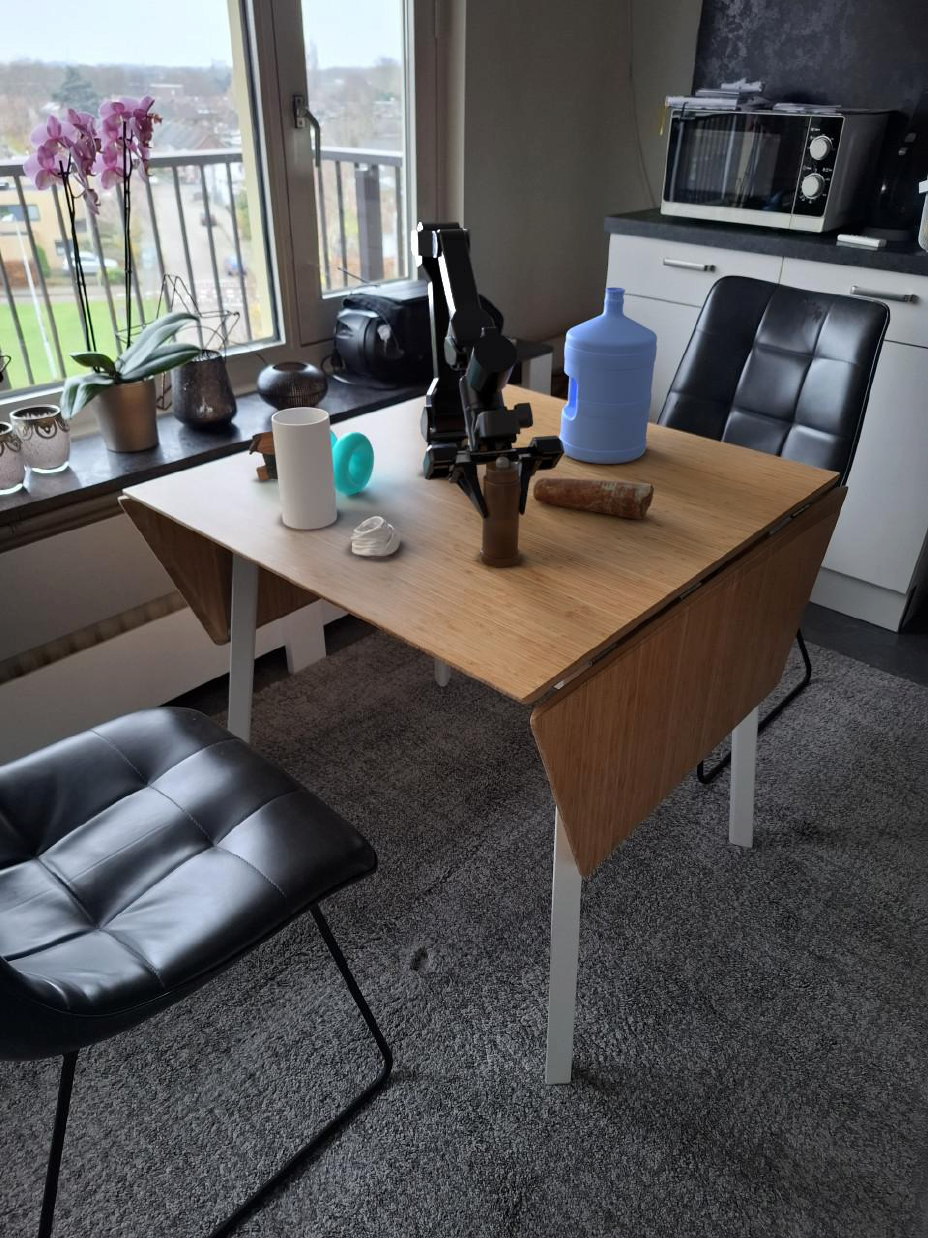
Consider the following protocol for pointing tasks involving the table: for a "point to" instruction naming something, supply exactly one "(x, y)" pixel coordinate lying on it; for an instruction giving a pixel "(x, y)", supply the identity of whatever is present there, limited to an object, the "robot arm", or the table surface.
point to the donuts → (351, 462)
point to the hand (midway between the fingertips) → (503, 515)
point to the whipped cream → (374, 538)
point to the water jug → (608, 386)
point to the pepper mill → (501, 513)
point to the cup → (305, 467)
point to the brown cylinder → (596, 495)
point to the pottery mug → (265, 455)
